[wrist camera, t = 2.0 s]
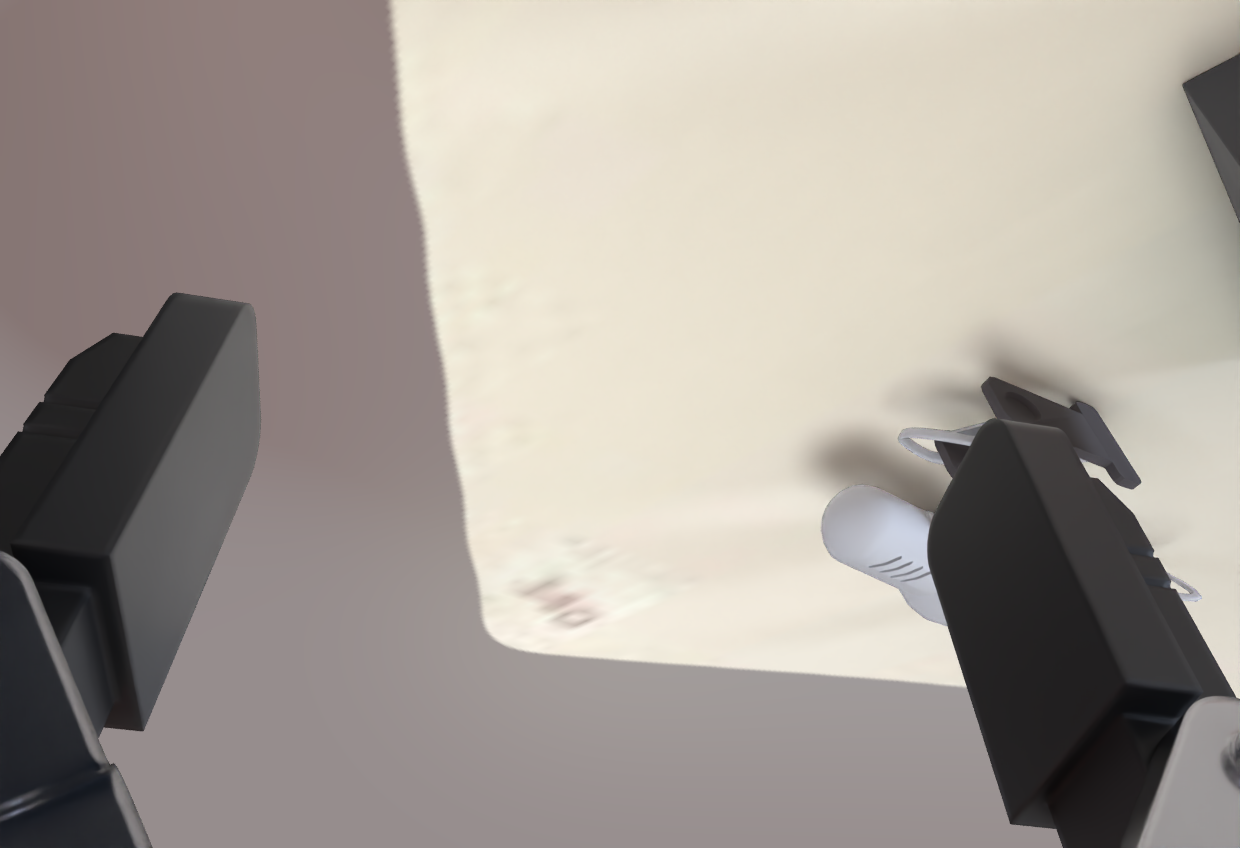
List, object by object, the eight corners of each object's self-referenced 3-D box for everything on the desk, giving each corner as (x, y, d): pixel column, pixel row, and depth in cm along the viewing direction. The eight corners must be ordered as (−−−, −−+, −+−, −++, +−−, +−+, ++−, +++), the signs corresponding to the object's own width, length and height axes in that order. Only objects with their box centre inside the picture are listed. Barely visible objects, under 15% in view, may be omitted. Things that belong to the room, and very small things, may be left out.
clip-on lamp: (1201, 480, 49) (995, 329, 39) (1277, 592, 44) (1068, 455, 34) (998, 602, 55) (774, 498, 45) (1049, 711, 50) (814, 623, 40)
